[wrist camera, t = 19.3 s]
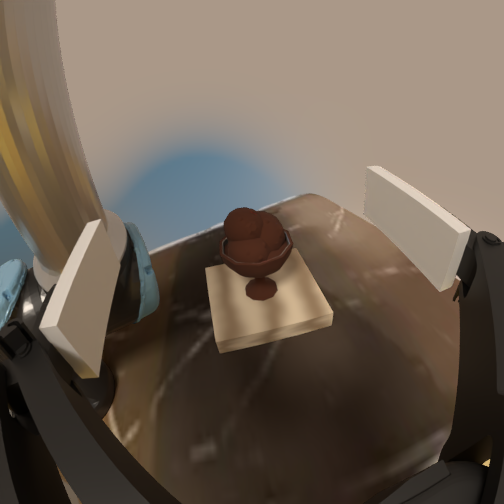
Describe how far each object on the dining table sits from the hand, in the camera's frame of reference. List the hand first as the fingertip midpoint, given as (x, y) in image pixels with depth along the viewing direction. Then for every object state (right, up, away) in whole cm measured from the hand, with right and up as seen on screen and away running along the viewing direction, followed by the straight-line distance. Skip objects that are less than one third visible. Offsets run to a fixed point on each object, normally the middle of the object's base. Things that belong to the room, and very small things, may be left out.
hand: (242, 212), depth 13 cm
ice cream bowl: (+2, -8, +35) cm, 36 cm away
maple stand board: (+2, -10, +37) cm, 38 cm away
